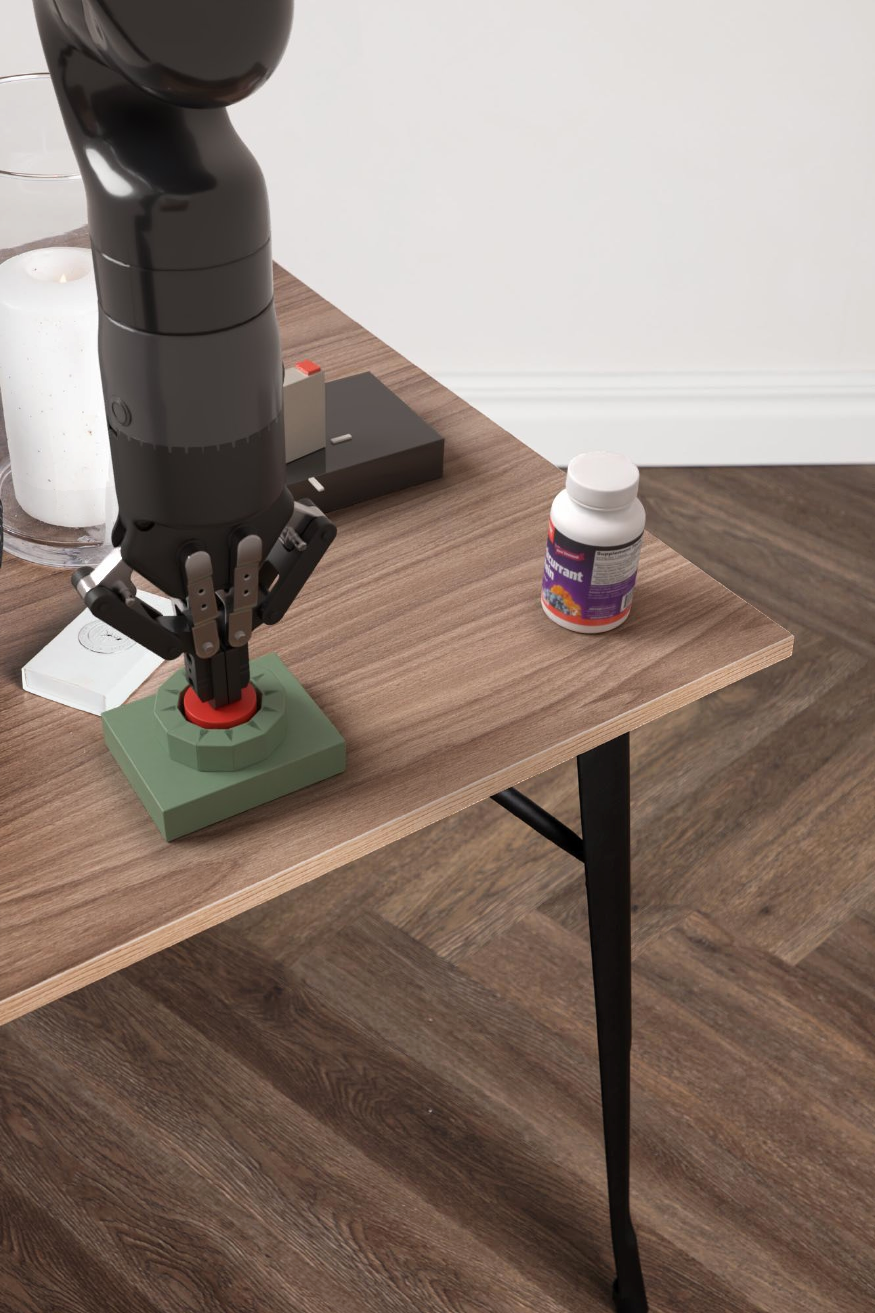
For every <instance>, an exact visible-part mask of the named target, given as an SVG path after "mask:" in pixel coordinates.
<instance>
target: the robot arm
mask: <svg viewBox="0 0 875 1313" xmlns="http://www.w3.org/2000/svg"><path fill="white" fill-rule="evenodd" d="M31 1H32V9H33V13H34V18H35V23H36V28H37V32H38V37H39V40H40V44H41V49H42V52H43V55H44V59H45V63H46V67H47V70H48V73H49V77H50V80H51V83H52V87H53V91H54V94H55V97H56V101H57V104H58V107H59V108H58V109H59V111H60V115H61V119H62V121H63V125H64V128H65V132H66V135H67V137H68V141H69V144H70V146H71V150H72V152H73V155H74V158H75V161H76V163H77V166H78V169H79V170H78V171H79V173H80V176H81V179H82V184H83V187H84V192H85V198H86V200H85V201H86V213H87V214H86V215H87V216H86V217H87V226H88V235H89V243H90V251H91V259H92V267H93V268H92V269H93V275H94V276H93V277H94V282H95V283H94V284H95V291H96V298H97V300H96V301H97V302H96V303H97V314H98V315H97V318H98V319H97V358H98V367H99V373H100V382H101V388H102V389H101V390H102V396H103V397H102V398H103V405H104V413H105V420H106V427H107V434H108V442H109V452H110V458H111V466H112V472H113V482H114V490H115V495H116V501H117V506H118V511H117V517H116V520H115V522H114V525H113V527H112V530H111V533H110V534H111V535H110V540H111V545H112V547H113V549H112V550H111V551H109V553H108V554H106V556H105V557H104V558H103V559H102V560H101V561H100V562H99V563H98V564H97V566H96V567H92V566H89V565H84V566H81V567H79V568H77V569H76V570H75V571H73V573H72V574H71V578H70V583H71V585H72V586H73V588H74V589H75V591H76V593H77V594H78V596H79V598H80V599H81V600H82V601H83V603H84V605H85V606H86V607H87V609H88V611H89V612H90V613H91V614H92V616H93V617H95V618H97V619H98V620H100V621H101V622H103V623H105V624H106V625H107V626H110V627H111V628H112V629H114V630H116V631H118V632H119V633H121V634H122V635H124V636H125V637H127V638H128V639H130V640H132V641H134V642H135V643H136V644H139V645H140V646H142V647H143V648H145V649H147V650H148V651H150V652H151V653H153V654H154V655H156V656H158V657H160V658H161V659H162V660H164V661H168V662H169V661H174V660H177V659H178V658H179V657H181V656H182V654H183V662H184V667H185V671H186V681H187V682H188V683H189V685H190V686H191V688H192V689H193V690H194V692H195V693H196V695H197V696H198V697H199V699H200V700H201V702H202V703H204V702H207V701H208V702H209V704H210V705H211V707H212V708H213V709H214V710H215V709H217V708H220V707H223V706H225V705H228V704H231V703H234V702H237V701H239V700H241V699H242V694H241V689H243V688H246V687H247V686H248V683H249V680H250V670H249V669H250V666H249V661H250V653H249V641H250V640H251V638H252V635H253V632H254V631H255V630H256V629H257V628H259V627H260V626H262V625H263V624H264V625H266V626H275V625H276V624H278V623H279V622H280V621H282V619H283V618H284V617H285V615H286V614H287V612H288V610H289V609H290V608H291V605H292V604H293V603H294V601H295V599H296V598H297V596H298V595H299V594H300V592H301V590H302V589H303V587H304V585H306V583H307V582H308V580H309V578H311V576H312V574H313V572H314V571H315V569H316V568H317V566H318V564H320V562H321V560H322V559H323V557H324V556H325V554H326V553H327V551H328V549H329V548H330V547H331V546H332V543H333V542H334V540H335V539H336V537H337V535H338V529H337V527H336V526H337V525H335V524H334V523H333V522H332V521H331V520H330V519H329V518H328V516H327V515H325V513H322V511H321V510H320V509H319V508H318V507H317V506H316V505H315V504H314V503H313V502H312V501H311V500H310V499H307V498H303V499H300V500H298V501H297V502H296V501H294V498H293V496H292V494H291V492H290V491H289V490H288V488H287V487H286V485H285V481H286V451H285V423H284V397H283V383H284V378H285V370H286V369H285V365H284V361H283V350H282V337H281V332H280V326H279V321H278V315H277V311H276V305H275V293H274V270H273V269H274V267H273V266H274V264H273V244H272V242H273V240H272V221H271V220H272V219H271V207H270V206H271V205H270V199H269V193H268V192H269V191H268V186H267V182H266V178H265V174H264V172H263V169H262V167H261V165H260V164H259V161H258V160H257V159H256V157H255V156H254V154H253V153H252V151H251V150H250V149H249V147H248V146H247V145H246V144H245V142H244V141H243V139H242V138H241V137H240V135H239V134H238V132H237V131H236V128H235V127H234V125H233V123H232V120H231V118H230V115H229V112H228V108H227V107H229V106H232V105H235V104H237V103H240V102H242V101H244V100H246V99H248V98H250V97H252V95H254V94H255V93H256V92H258V91H259V90H260V89H261V88H263V87H264V85H265V84H267V82H268V81H269V80H270V78H272V76H273V75H274V73H275V72H276V71H277V69H278V67H279V66H280V64H281V62H282V60H283V58H284V56H285V53H286V51H287V48H288V45H289V42H290V38H291V34H292V30H293V24H294V18H295V0H31ZM133 571H134V572H135V573H137V574H138V575H139V576H141V577H142V578H143V579H144V580H146V581H147V582H149V583H150V584H151V585H153V586H154V587H155V588H157V589H158V590H159V591H161V592H162V593H164V594H165V595H166V596H168V597H169V599H170V602H171V608H172V613H173V615H164V614H163V613H162V612H161V611H159V610H158V609H156V608H154V607H153V606H151V605H150V604H149V603H147V602H145V601H144V600H143V599H141V598H139V597H138V596H137V593H138V589H137V586H136V585H135V584H134V582H133V581H132V574H133ZM275 580H276V582H275ZM274 582H275V583H274ZM273 584H274V585H273ZM271 587H272V588H271ZM270 588H271V589H270ZM269 589H270V590H269Z"/></svg>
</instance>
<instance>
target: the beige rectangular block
mask: <svg viewBox="0 0 875 1313" xmlns="http://www.w3.org/2000/svg"><path fill="white" fill-rule="evenodd" d="M325 383H326V372H325V370H324V369H323V368H321V366H319V365H318V364H316V363H315V362H313V361H311V360H310V359H305V360H303V361H299V362H297V363H295V365H294V366H292V367H290V368H287V369H285V378H284V383H283V397H284V423H285V451H286V463H288V462H291V461H293V460H295V459H298V458H300V457H302V456H305V455H307V454H309V453H312V452H314V451H316V450H319V449H321V448H323V447H325V446H326V433H325Z"/></svg>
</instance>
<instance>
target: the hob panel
mask: <svg viewBox="0 0 875 1313" xmlns="http://www.w3.org/2000/svg"><path fill="white" fill-rule="evenodd" d="M325 433H326V446H325V447H323V448H321V449H319V450H316V451H314V452H312V453H309V454H307V455H305V456H302V457H300V458H298V459H295V460H293V461H291V462H288V463H286V481H285V485H286V487H287V488H288V490H289V491H290V492H291V494H292V496H293V498H294V501H296V502H297V501H298V500H300V499H303V498H307V499H310V500H311V501H312V502H313V503H314V504H315V505H316V506H317V507H318V508H319V509H320V510H321V511H322V513H323V514H325V513H329V512H333V511H335V510H339V509H342V508H346V507H348V506H352V505H355V504H358V503H361V502H365V501H368V500H372V499H374V498H377V497H381V496H384V495H387V494H388V495H389V494H390V493H394V492H396V491H400V490H404V489H407V488H410V487H413V486H417V485H420V484H422V483H426V482H430V481H432V480H436V479H439V478H443V477H444V461H445V445H446V444H445V442H446V438H445V437H444V436H443V435H442V434H441V433H440V432H439V431H437V429H435V428H434V427H433V426H431V424H430V423H429V422H427V421H426V420H425V419H424V417H421V416H420V415H419V414H418V413H417V412H416V411H415V410H413V408H412V407H410V406H409V405H408V404H407V403H406V402H405V401H404V400H403V399H402V398H400V397H399V396H398V395H397V394H396V393H395V392H394V391H393V390H392V389H391V388H389V387H388V386H387V385H386V384H384V382H382V381H381V380H380V379H379V378H378V377H376V375H375V374H373V373H372V371H369V370H368V371H364V372H361V373H357V374H353V375H349V376H346V377H342V378H338V379H334V380H330V381H325Z"/></svg>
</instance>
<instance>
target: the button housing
mask: <svg viewBox="0 0 875 1313" xmlns="http://www.w3.org/2000/svg"><path fill="white" fill-rule="evenodd" d="M249 666H250V669H249V670H250V680H249V684H250V685H251V686H252V687H253V689H254V690H255V693H256V700H257V714H256V715H255V716H254V717H253V718H252V719H251V720H250V721H249V722H247V723H244V724H241V725H239V726H236V727H233V728H230V729H204V728H202V727H199V726H197V725H195V724H192V723H190V722H188V721H186V717H185V707H184V697H185V694H186V692H187V691H188V689H189V688H190V687H191V686H190V685H189V683H188V682H187V681H186V671H185V666H183V667H181V668H178V669H177V670H176V671H175V672H173V673H172V674H171V675H170V677H168V678H167V679H166V680H165V681H164V682H163V683H162V684H161V685H160V686H158V687H157V690H156V692H155V693H154V694H151V695H148V696H145V697H142V698H139V699H136V700H134V701H131V702H128V703H125V704H122V705H120V706H117V707H114V708H111V709H108V710H105V711H102V712H100V718H101V725H102V732H103V738H104V743H105V745H106V747H107V749H108V750H109V752H110V753H111V755H112V757H113V758H114V759H115V762H116V763H117V764H118V766H119V768H120V769H121V771H122V773H123V775H124V776H125V778H126V779H127V781H128V783H129V784H130V786H131V788H132V789H133V790H134V792H135V794H136V795H137V797H138V799H139V801H140V802H141V804H142V805H143V806H144V808H145V811H147V813H148V815H149V816H150V818H151V819H152V821H153V823H154V824H155V826H156V828H157V829H158V831H159V832H160V834H161V835H162V837H163V839H164V840H165V842H166V843H169V842H171V841H174V840H176V839H179V838H181V837H184V836H186V835H188V834H192V833H194V832H197V831H198V830H201V829H204V828H206V827H209V826H211V825H214V824H216V823H218V822H221V821H225V820H226V819H229V818H232V817H234V816H236V815H239V814H241V813H244V812H246V811H249V810H252V809H254V808H257V807H259V806H262V805H264V804H266V803H269V802H272V801H274V800H276V799H279V798H281V797H284V796H286V795H289V794H291V793H294V792H296V791H299V790H302V789H305V788H306V787H309V786H312V785H314V784H316V783H319V782H321V781H324V780H326V779H329V778H331V777H334V776H337V775H339V774H342V773H344V772H346V770H347V742H346V741H347V740H346V739H345V738H344V737H343V736H342V734H341V733H340V732H339V731H338V729H337V727H335V726H334V724H333V723H332V722H331V720H330V719H329V718H328V717H327V715H326V714H325V713H324V711H323V710H322V709H321V707H319V706H318V704H317V702H315V700H314V699H313V698H312V696H311V695H310V694H309V693H308V692H307V690H306V689H305V688H304V687H303V685H302V684H301V683H300V682H299V680H298V679H297V677H296V676H294V674H293V673H292V672H291V670H290V669H289V668H288V667H287V666H286V664H285V663H284V661H283V660H282V659H281V658H280V656H279V655H278V654H277V653H276V652H275V651H273V652H271V653H268V654H265V655H261V656H258V657H256V658H253V659H249Z"/></svg>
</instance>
